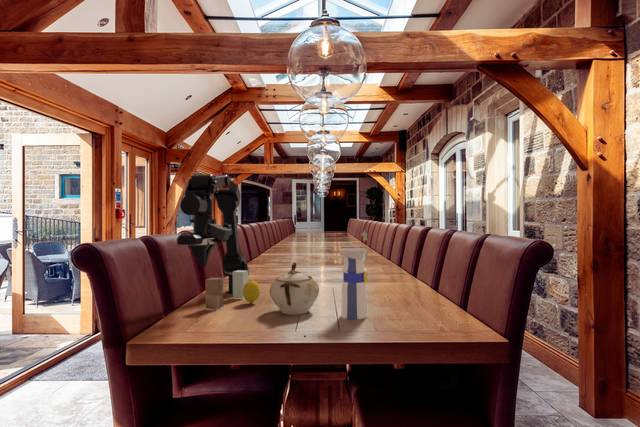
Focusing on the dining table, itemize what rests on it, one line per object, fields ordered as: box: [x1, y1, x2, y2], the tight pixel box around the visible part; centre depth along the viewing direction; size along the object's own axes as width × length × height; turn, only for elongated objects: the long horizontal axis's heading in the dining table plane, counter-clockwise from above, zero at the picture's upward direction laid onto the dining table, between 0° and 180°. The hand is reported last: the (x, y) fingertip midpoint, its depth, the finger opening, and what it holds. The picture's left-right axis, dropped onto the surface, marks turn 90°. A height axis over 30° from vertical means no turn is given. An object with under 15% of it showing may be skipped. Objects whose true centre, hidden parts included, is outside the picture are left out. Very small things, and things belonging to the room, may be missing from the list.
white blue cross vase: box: [339, 229, 369, 320], centre depth 127 cm, size 8×9×25 cm
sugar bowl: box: [269, 262, 320, 316], centre depth 133 cm, size 20×15×15 cm
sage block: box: [232, 270, 249, 300], centre depth 155 cm, size 4×4×10 cm
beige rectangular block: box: [204, 277, 225, 311], centre depth 138 cm, size 4×4×10 cm
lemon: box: [243, 279, 261, 304], centre depth 145 cm, size 6×6×8 cm
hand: (203, 267), depth 132 cm, fingers closed
